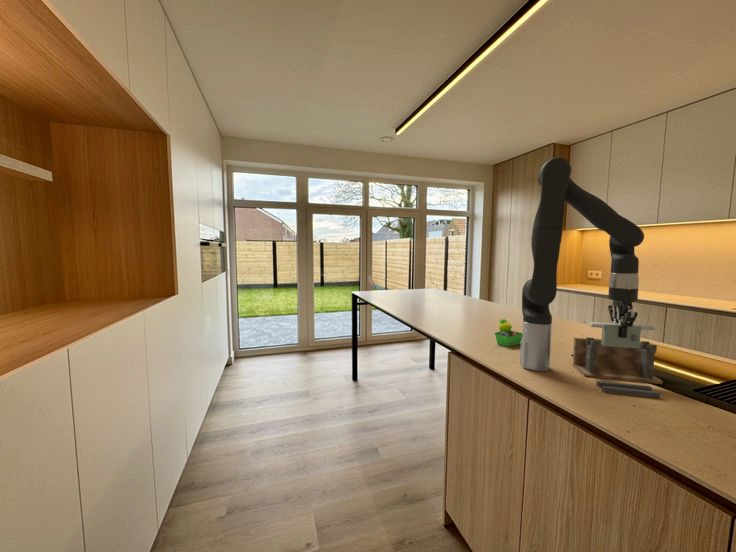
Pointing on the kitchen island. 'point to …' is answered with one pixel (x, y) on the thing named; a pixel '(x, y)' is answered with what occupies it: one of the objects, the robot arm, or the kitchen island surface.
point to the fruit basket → (507, 334)
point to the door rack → (628, 389)
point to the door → (613, 340)
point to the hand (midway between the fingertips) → (620, 336)
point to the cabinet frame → (615, 360)
